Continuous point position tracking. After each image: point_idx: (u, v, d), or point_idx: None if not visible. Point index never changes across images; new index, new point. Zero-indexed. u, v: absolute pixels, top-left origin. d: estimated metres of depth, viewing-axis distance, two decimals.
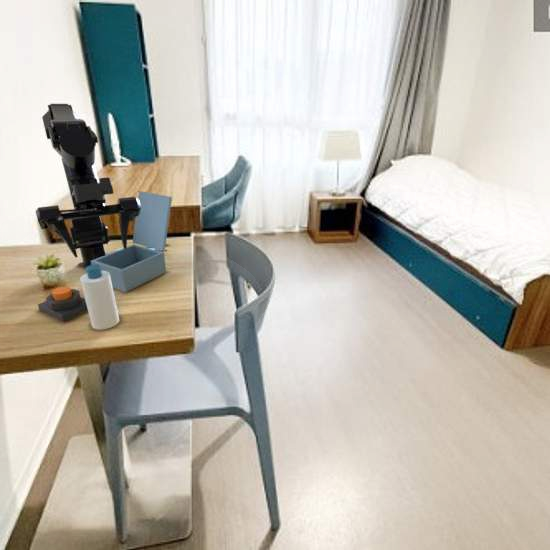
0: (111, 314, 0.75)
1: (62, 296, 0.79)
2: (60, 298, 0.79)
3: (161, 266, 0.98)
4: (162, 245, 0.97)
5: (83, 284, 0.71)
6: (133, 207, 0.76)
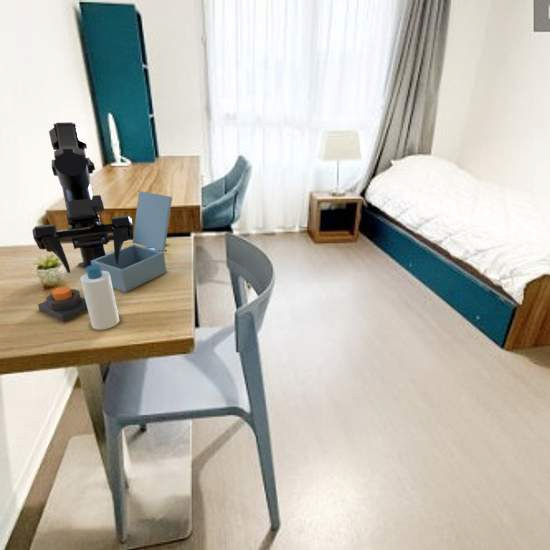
0: (111, 314, 0.75)
1: (62, 296, 0.79)
2: (60, 298, 0.79)
3: (161, 266, 0.98)
4: (162, 245, 0.97)
5: (83, 284, 0.71)
6: (125, 224, 0.79)
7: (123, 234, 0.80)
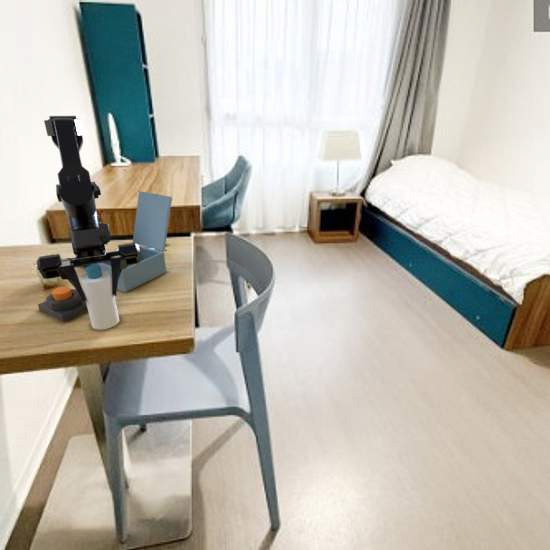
0: (111, 314, 0.75)
1: (62, 296, 0.79)
2: (60, 298, 0.79)
3: (161, 266, 0.98)
4: (162, 245, 0.97)
5: (83, 284, 0.71)
6: (132, 252, 0.76)
7: (121, 263, 0.77)
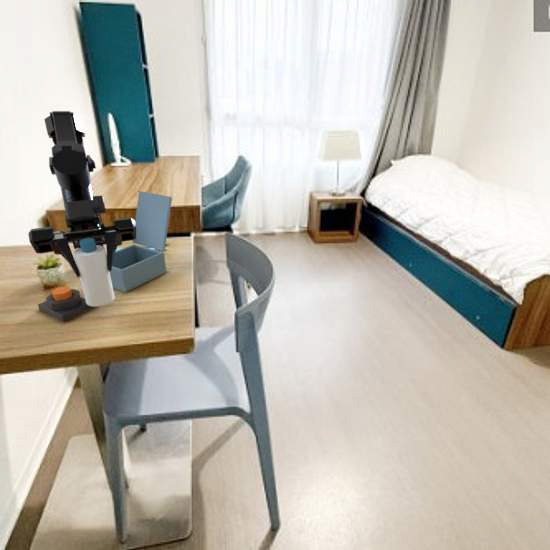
0: (106, 290, 0.73)
1: (62, 296, 0.79)
2: (60, 298, 0.79)
3: (161, 266, 0.98)
4: (162, 245, 0.97)
5: (77, 258, 0.69)
6: (128, 226, 0.74)
7: (117, 238, 0.75)
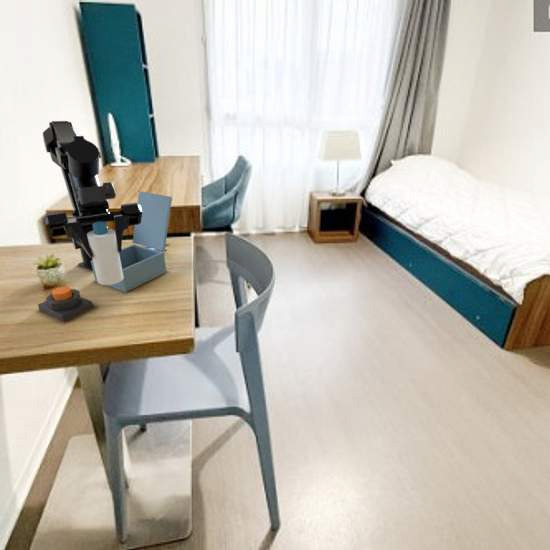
0: (117, 270, 0.79)
1: (62, 296, 0.79)
2: (60, 298, 0.79)
3: (161, 266, 0.98)
4: (162, 245, 0.97)
5: (90, 239, 0.75)
6: (135, 211, 0.80)
7: (124, 222, 0.81)
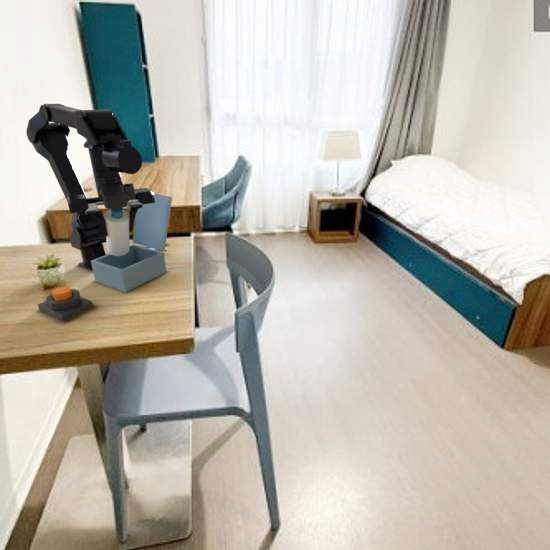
0: (125, 246, 0.93)
1: (62, 296, 0.79)
2: (60, 298, 0.79)
3: (161, 266, 0.98)
4: (162, 245, 0.97)
5: (107, 221, 0.86)
6: (149, 202, 0.89)
7: None
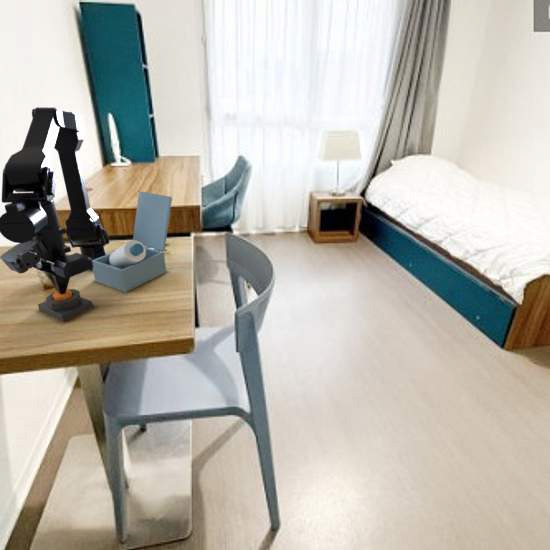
0: None
1: (63, 299, 0.79)
2: None
3: (161, 266, 0.98)
4: (162, 245, 0.97)
5: (124, 255, 0.88)
6: (62, 275, 0.71)
7: None
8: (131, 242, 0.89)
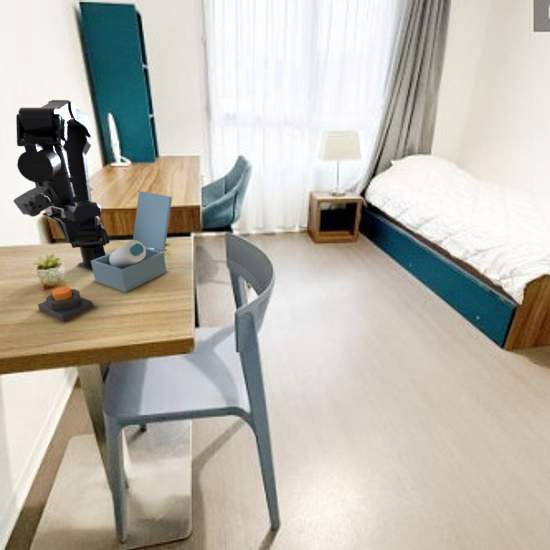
0: None
1: (62, 296, 0.79)
2: (60, 298, 0.79)
3: (161, 266, 0.98)
4: (162, 245, 0.97)
5: (124, 255, 0.88)
6: (72, 219, 0.75)
7: None
8: (131, 242, 0.89)
